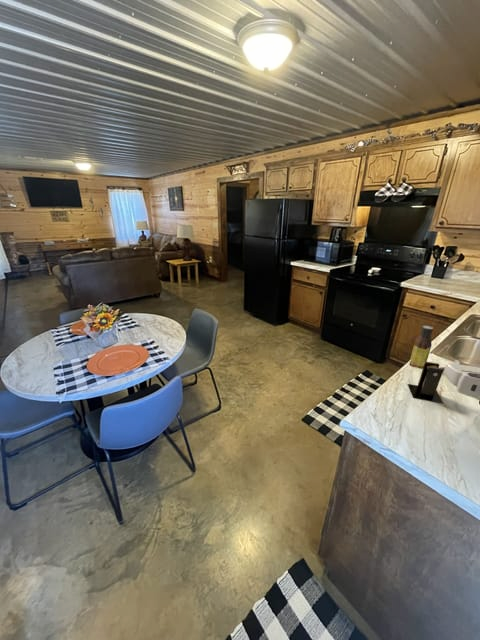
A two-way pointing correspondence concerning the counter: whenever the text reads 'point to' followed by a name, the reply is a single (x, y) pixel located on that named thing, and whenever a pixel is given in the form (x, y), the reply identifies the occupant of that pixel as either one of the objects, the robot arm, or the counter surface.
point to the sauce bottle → (421, 348)
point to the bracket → (427, 384)
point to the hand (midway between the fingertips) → (474, 364)
